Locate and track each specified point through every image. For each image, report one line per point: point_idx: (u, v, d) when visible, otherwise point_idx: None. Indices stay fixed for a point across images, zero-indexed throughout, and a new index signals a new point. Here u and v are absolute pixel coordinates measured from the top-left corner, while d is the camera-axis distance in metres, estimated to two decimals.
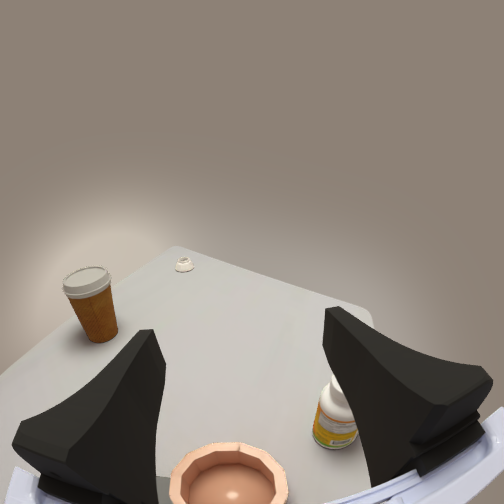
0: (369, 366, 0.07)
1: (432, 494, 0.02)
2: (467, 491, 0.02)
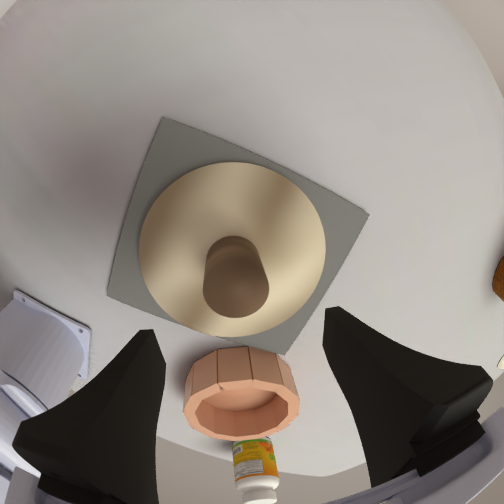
0: (369, 366, 0.07)
1: (432, 494, 0.02)
2: (467, 491, 0.02)
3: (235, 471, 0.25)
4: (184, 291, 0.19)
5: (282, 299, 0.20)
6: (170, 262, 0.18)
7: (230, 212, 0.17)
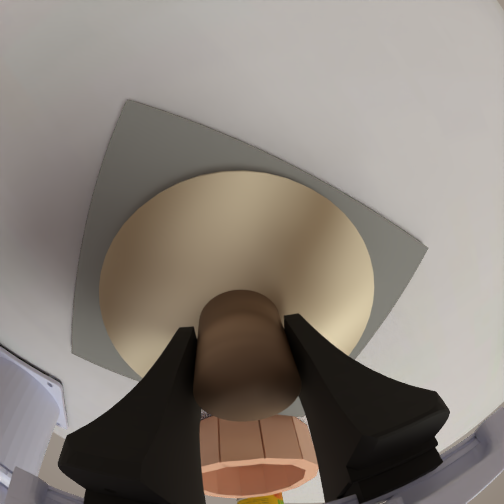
0: (315, 380, 0.07)
1: (432, 494, 0.02)
2: (467, 491, 0.02)
3: None
4: None
5: None
6: (146, 324, 0.11)
7: (235, 254, 0.11)
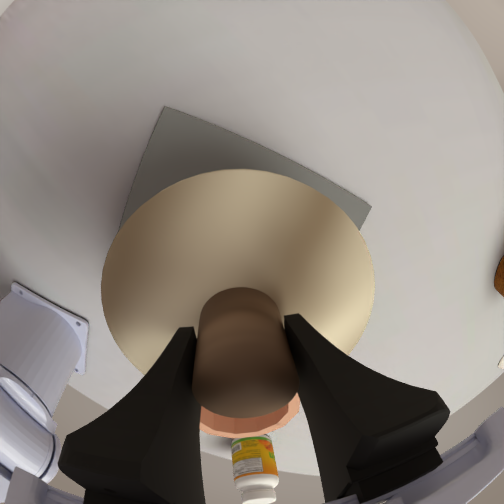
0: (316, 380, 0.07)
1: (432, 494, 0.02)
2: (467, 491, 0.02)
3: (234, 469, 0.24)
4: None
5: None
6: (147, 320, 0.12)
7: (236, 252, 0.11)
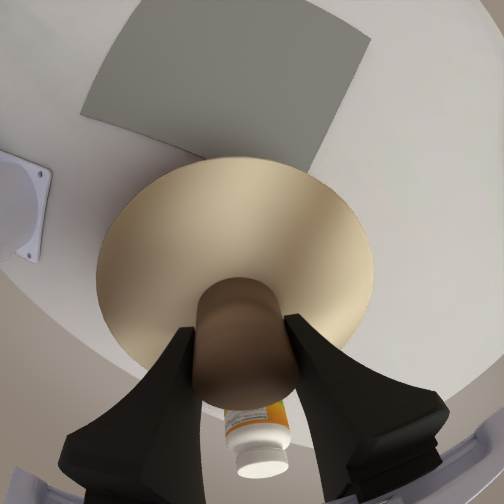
0: (315, 380, 0.07)
1: (432, 494, 0.02)
2: (467, 491, 0.02)
3: (226, 421, 0.19)
4: None
5: None
6: (143, 311, 0.11)
7: (236, 242, 0.10)
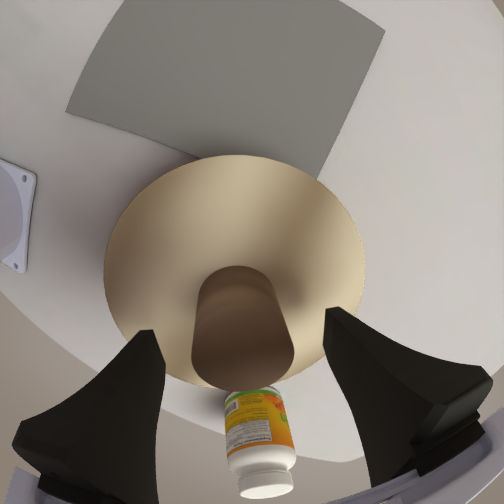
0: (369, 366, 0.07)
1: (432, 494, 0.02)
2: (467, 491, 0.02)
3: (227, 441, 0.17)
4: (168, 336, 0.13)
5: (301, 347, 0.14)
6: (147, 299, 0.12)
7: (234, 231, 0.11)
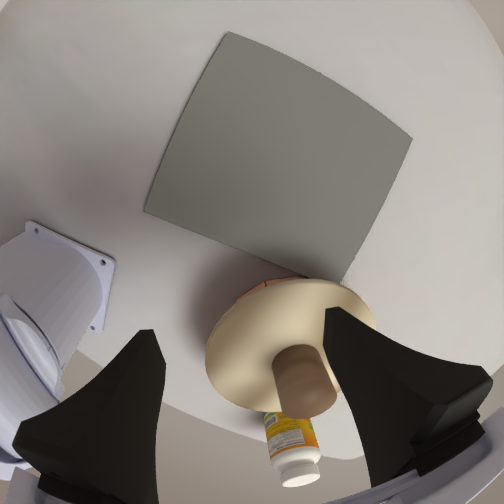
0: (369, 366, 0.07)
1: (432, 494, 0.02)
2: (467, 491, 0.02)
3: (270, 445, 0.23)
4: (247, 385, 0.19)
5: (331, 383, 0.20)
6: (237, 365, 0.18)
7: (300, 326, 0.17)
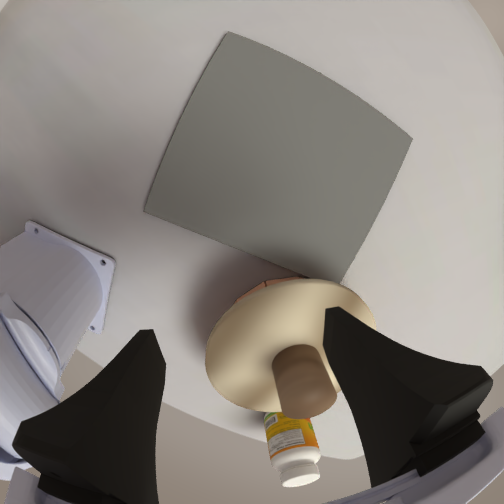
0: (369, 366, 0.07)
1: (432, 494, 0.02)
2: (467, 491, 0.02)
3: (270, 445, 0.23)
4: (247, 385, 0.19)
5: (331, 383, 0.20)
6: (237, 365, 0.18)
7: (300, 326, 0.17)
